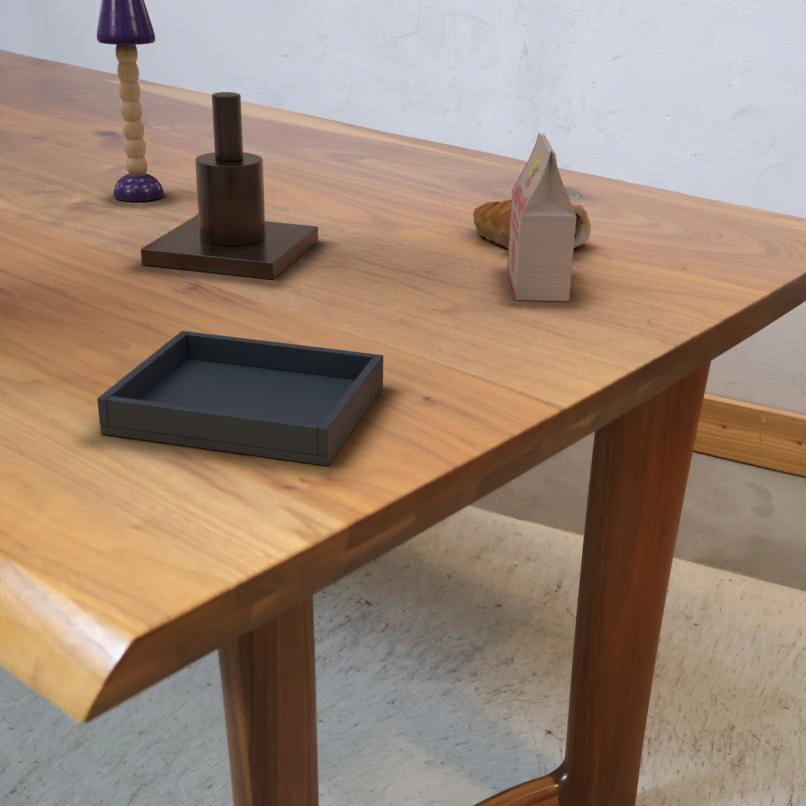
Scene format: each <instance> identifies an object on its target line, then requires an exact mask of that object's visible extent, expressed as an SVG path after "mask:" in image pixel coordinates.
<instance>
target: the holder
mask: <svg viewBox="0 0 806 806" xmlns="http://www.w3.org/2000/svg"><path fill="white" fill-rule="evenodd" d="M211 104H212V105H211V106H212V126H213V127H212V128H213V141H214V142H213V144H214V145H213V146H214V147H213V148H214V152H209V153H208V152H207V153H203V154H200V155H198V156H196V157H195V162H194V163H195V177H196V178H195V179H196V193H197V195H196V196H197V209H198V211H197V213H198V214H196V215H194V216H193V217H191V218H189V219H187V220H186V221H184V222H183V223H181V224H179V225H177V226H176V227H174V228H173V229H171V230H170V231H168V232H167V233H165V234H163V235H161V236H160V237H158V238H156V239H154V240H153V241H151V242H150V243H148V244H147V245H145V246H143V247H141V248H140V259H141V265H142V266H150V267H160V268H167V269H168V268H169V269H178V270H186V271H196V272H206V273H212V274H213V273H215V274H223V275H230V276H231V275H232V276H241V277H250V278H259V279H268V280H274V279H275V278H276V277H277V276H278V275H280V274H281V273H283V271H285V270H286V269H287V268H289V266H291V265H292V264H293V263H294V262H296V261H297V260H298V259H299V258H300V257H301V256H302V255H304V254H305V253H306V252H307V251H308V250H310V248H312V247H313V246H314V245H316V244H317V243H319V226H318V225H309V224H297V223H287V222H280V221H279V222H278V221H268V220H266V211H265V210H266V209H265V207H266V206H265V184H264V183H265V182H264V181H265V180H264V179H265V178H264V159H263V157H262V156H260V155H258V154H256V153H251V152H245V151H244V141H243V122H242V121H243V120H242V119H243V118H242V96H241V94H240V93H238V92H233V91H230V92H229V91H219V92H214V93H212V94H211Z"/></svg>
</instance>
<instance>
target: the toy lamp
mask: <svg viewBox="0 0 806 806" xmlns="http://www.w3.org/2000/svg"><path fill="white" fill-rule="evenodd" d="M96 29H97V30H96V40H97V42H98V43H100V44H104V45H115V57H116V60H117V62H118V64H117V68H116V70H117V71H116V73H117V77H118V80H119V84H118V94H119V97H120V99H121V103H120V114H121V117H122V119H123V122H122V134H123V136H124V138H125V141H124V152H125V154H126V157H127V158H126V163H125V164H126V170H127V172H128V173H127V174H125V175H123V176H121V177H120V178H119V179H117V181H116V182H115V185H114V189H113V198H114V199H116V200H118V201H124V202H125V201H126V202H146V201H153V200H157V199H159V198H162V197H163V196H164V195H165V192H164V188H163V186H162V184H161V181H159V180H158V178H156V177H155V176H153V175H151V174H149V173H148V161H147V158H146V157H145V155H146V151H147V146H146V142H145V140H144V135H145V125H144V123H143V120H142V117H143V107H142V104H141V101H140V98H141V86H140V84H139V82H138V81H139V78H140V68H139V66H138V64H137V61H138V55H139V53H138V48H137V46H140V45H148V44H149V45H150V44H153V43H155V42H156V35H155V31H154V27H153V24H152V21H151V18H150V14H149V12H148V8H147V6H146V3H145V0H101V3H100V9H99V16H98V22H97V28H96Z"/></svg>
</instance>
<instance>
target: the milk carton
mask: <svg viewBox="0 0 806 806" xmlns="http://www.w3.org/2000/svg"><path fill="white" fill-rule="evenodd" d="M556 155H557V154H556V152H555V150H554V149H553V147H552V145H551V143H550V142H549V139H548V138H547V137H546V134H545V133H544V132H543V134H542V133H540V132H538V133H537V137H536V140H535V144H534V146H533V149H532V151H531V154H530V156H529V158H528V160H527V162H526V163H525V165H524V166H523V169H522V171H521V173H520V175H519V176H518V178H517V180H516V182H515V184H514V186H513V187H512V189H511V200H512V202H511V218H510V234H509V249H508V250H507V251H508V252H507V269H506V270H507V274H508V278H509V281H510V285H511V289H512V292H513V295H514V299H515V301H539V302H540V301H543V302H544V301H545V302H570V295H571V293H570V292H571V282H572V272H573V259H574V249H575V248H574V238H575V227H576V214H575V212H574V209H573V207H572V204H573V203H572V202H571V200H570V197H569V194H568V193H567V190H566V188H565V185H564V182H563V180H562V176H561V173H560V171H559V167H558V162H557V156H556Z"/></svg>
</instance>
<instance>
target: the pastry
mask: <svg viewBox="0 0 806 806" xmlns="http://www.w3.org/2000/svg"><path fill="white" fill-rule="evenodd" d="M511 202H512V199H508V200H507V199H506V200H502V201H498V200H497V201H495V200H494V201H488V202H485V203H483V204H482V205H479V206H477V207H476V208H475V209H474V210H473V213H472V217H473V224H474V226H475V229H476V231H477V232H478V233H479V235H480V236H481V238H485V239H486V240H487V241H488V242H490V241H492V242H493V243H494V244H495V245H499V246H502V247H504V248H505V249H508V250H509V234H510V218H511ZM571 204H572V207H573V209H574V212H575V214H576V227H575V238H574V249H576V248H578V247H580V246H582V245H584V244H585V243H587V242H588V241H589V238H590V236H591V221H590V219H589V215H588V212H587V210H586V209H585V207H584V206H583V205H582V204H577V205H575V204H574V203H571Z"/></svg>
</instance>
